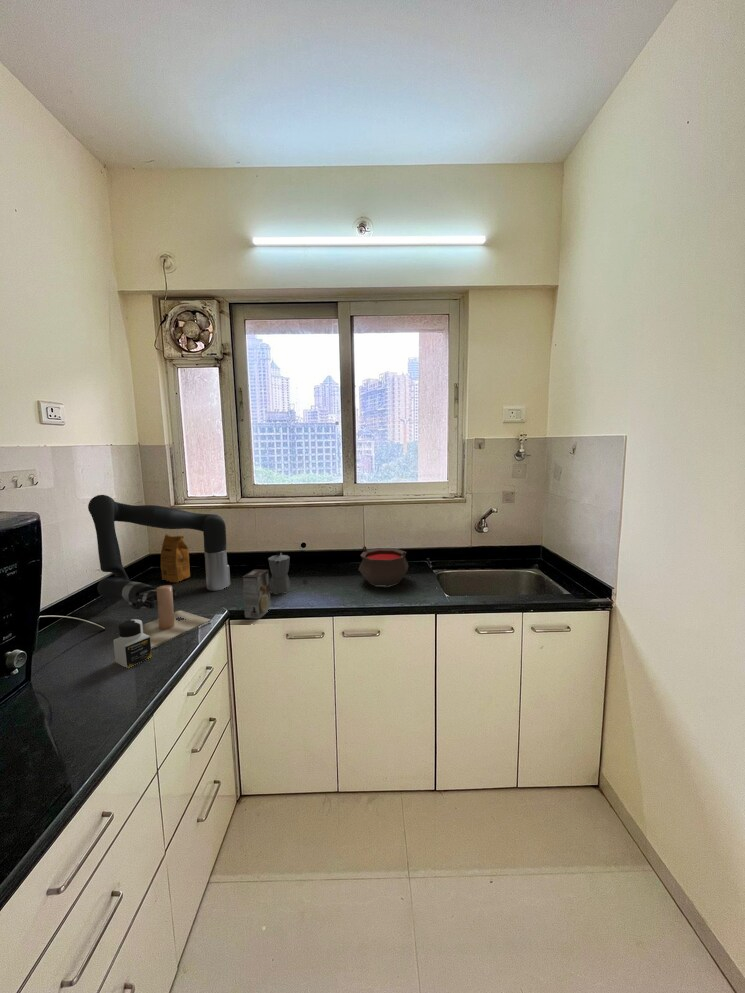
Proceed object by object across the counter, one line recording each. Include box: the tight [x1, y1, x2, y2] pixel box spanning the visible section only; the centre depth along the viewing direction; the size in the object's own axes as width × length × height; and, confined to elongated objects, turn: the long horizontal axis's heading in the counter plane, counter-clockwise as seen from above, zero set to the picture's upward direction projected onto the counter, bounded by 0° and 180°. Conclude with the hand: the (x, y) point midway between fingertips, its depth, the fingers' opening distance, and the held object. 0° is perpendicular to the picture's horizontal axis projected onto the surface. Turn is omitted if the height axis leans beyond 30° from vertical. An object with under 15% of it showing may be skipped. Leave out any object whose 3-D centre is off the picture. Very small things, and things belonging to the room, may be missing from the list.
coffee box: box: [241, 568, 272, 620], centre depth 149 cm, size 9×6×16 cm
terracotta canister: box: [156, 584, 175, 629], centre depth 136 cm, size 5×5×14 cm
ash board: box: [142, 610, 211, 649], centre depth 137 cm, size 22×18×1 cm
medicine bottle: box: [113, 618, 153, 669], centre depth 117 cm, size 7×7×12 cm
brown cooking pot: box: [358, 545, 409, 586], centre depth 181 cm, size 24×24×16 cm
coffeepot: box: [267, 550, 292, 594], centre depth 173 cm, size 15×9×18 cm, turn 8°
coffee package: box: [160, 534, 191, 583], centre depth 190 cm, size 10×12×22 cm
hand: (165, 601), depth 136 cm, fingers open, 8 cm apart
